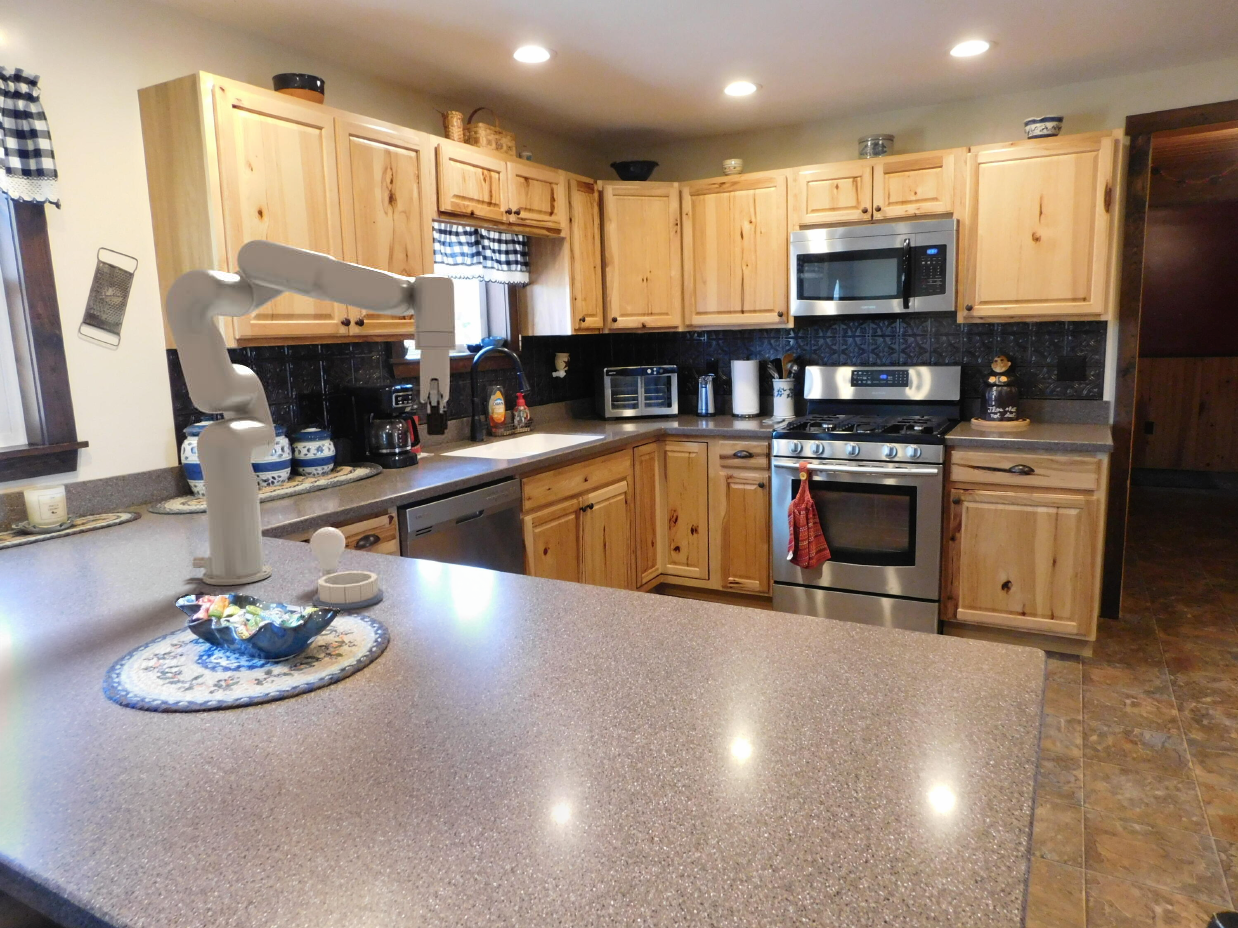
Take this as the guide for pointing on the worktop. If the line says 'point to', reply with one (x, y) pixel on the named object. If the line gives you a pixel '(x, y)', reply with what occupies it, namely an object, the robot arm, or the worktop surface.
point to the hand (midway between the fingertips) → (437, 432)
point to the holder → (348, 590)
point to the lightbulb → (328, 548)
